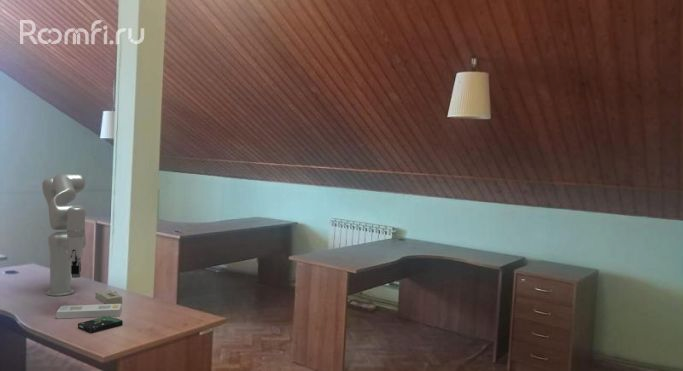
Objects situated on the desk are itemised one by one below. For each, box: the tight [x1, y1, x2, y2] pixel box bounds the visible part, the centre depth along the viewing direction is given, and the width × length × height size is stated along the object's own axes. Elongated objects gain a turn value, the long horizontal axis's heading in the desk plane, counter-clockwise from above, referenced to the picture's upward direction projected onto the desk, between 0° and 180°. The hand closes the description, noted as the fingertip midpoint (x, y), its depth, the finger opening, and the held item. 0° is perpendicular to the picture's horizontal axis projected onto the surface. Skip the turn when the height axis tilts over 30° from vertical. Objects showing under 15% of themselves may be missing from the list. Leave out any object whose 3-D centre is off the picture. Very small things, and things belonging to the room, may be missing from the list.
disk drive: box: [77, 316, 124, 334], centre depth 244 cm, size 10×3×15 cm
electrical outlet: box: [95, 289, 123, 304], centre depth 284 cm, size 7×4×18 cm
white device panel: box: [55, 303, 123, 320], centre depth 261 cm, size 10×26×3 cm, turn 105°
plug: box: [71, 259, 82, 279], centre depth 265 cm, size 4×4×8 cm
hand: (76, 272), depth 265 cm, fingers closed on plug, 3 cm apart
